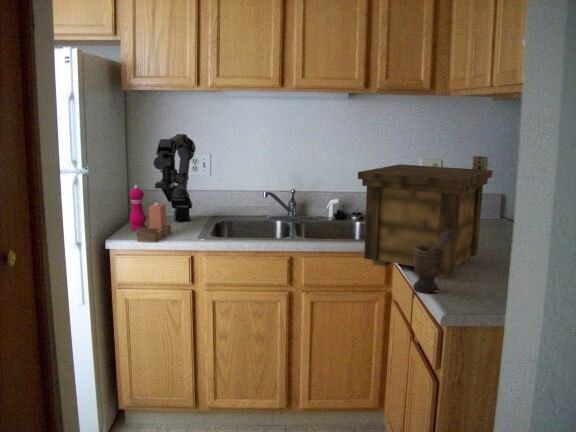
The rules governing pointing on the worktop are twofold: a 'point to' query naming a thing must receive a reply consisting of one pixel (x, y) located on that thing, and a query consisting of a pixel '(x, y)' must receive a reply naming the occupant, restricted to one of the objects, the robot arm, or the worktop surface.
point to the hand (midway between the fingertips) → (169, 201)
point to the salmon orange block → (157, 216)
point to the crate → (422, 212)
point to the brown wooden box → (152, 234)
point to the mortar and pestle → (429, 263)
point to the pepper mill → (137, 209)
